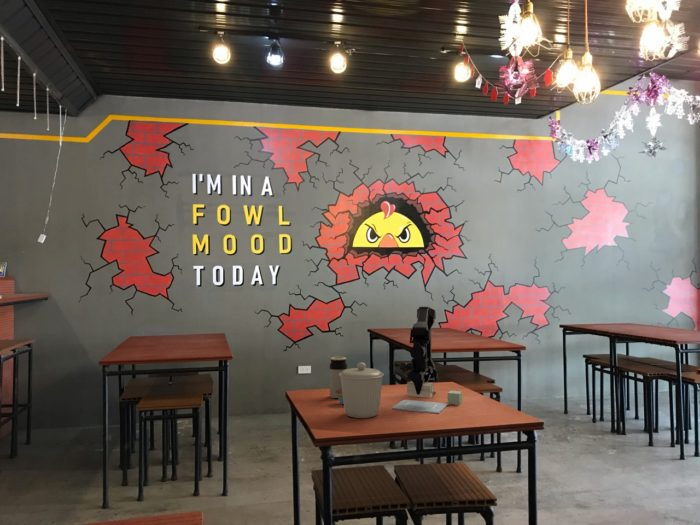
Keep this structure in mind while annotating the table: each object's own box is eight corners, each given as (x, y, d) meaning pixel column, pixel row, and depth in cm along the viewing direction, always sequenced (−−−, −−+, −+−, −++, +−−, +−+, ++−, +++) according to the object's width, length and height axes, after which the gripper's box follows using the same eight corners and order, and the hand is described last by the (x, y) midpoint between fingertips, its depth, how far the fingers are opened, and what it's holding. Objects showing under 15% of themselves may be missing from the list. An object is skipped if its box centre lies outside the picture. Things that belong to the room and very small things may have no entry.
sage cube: (450, 401, 244) (450, 390, 244) (461, 402, 242) (461, 391, 242) (447, 404, 240) (447, 392, 240) (459, 405, 238) (459, 393, 238)
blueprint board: (403, 400, 246) (403, 399, 246) (448, 405, 238) (448, 403, 238) (392, 409, 231) (392, 407, 231) (439, 413, 224) (439, 411, 224)
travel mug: (350, 396, 256) (350, 357, 256) (341, 399, 249) (341, 359, 249) (335, 394, 260) (335, 356, 260) (326, 398, 253) (326, 358, 253)
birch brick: (410, 392, 240) (410, 381, 240) (433, 394, 236) (433, 382, 236) (407, 395, 234) (407, 384, 234) (430, 397, 230) (430, 385, 231)
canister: (378, 422, 210) (377, 367, 211) (333, 419, 216) (332, 365, 216) (388, 411, 228) (388, 359, 228) (346, 408, 233) (346, 358, 233)
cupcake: (332, 404, 240) (332, 376, 240) (340, 400, 247) (340, 373, 248) (351, 406, 236) (351, 378, 237) (358, 402, 244) (358, 374, 244)
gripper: (408, 352, 247) (408, 387, 247) (395, 358, 230) (395, 395, 230) (432, 353, 243) (433, 389, 242) (421, 359, 225) (421, 398, 225)
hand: (420, 392), depth 235 cm, fingers closed on birch brick, 6 cm apart
